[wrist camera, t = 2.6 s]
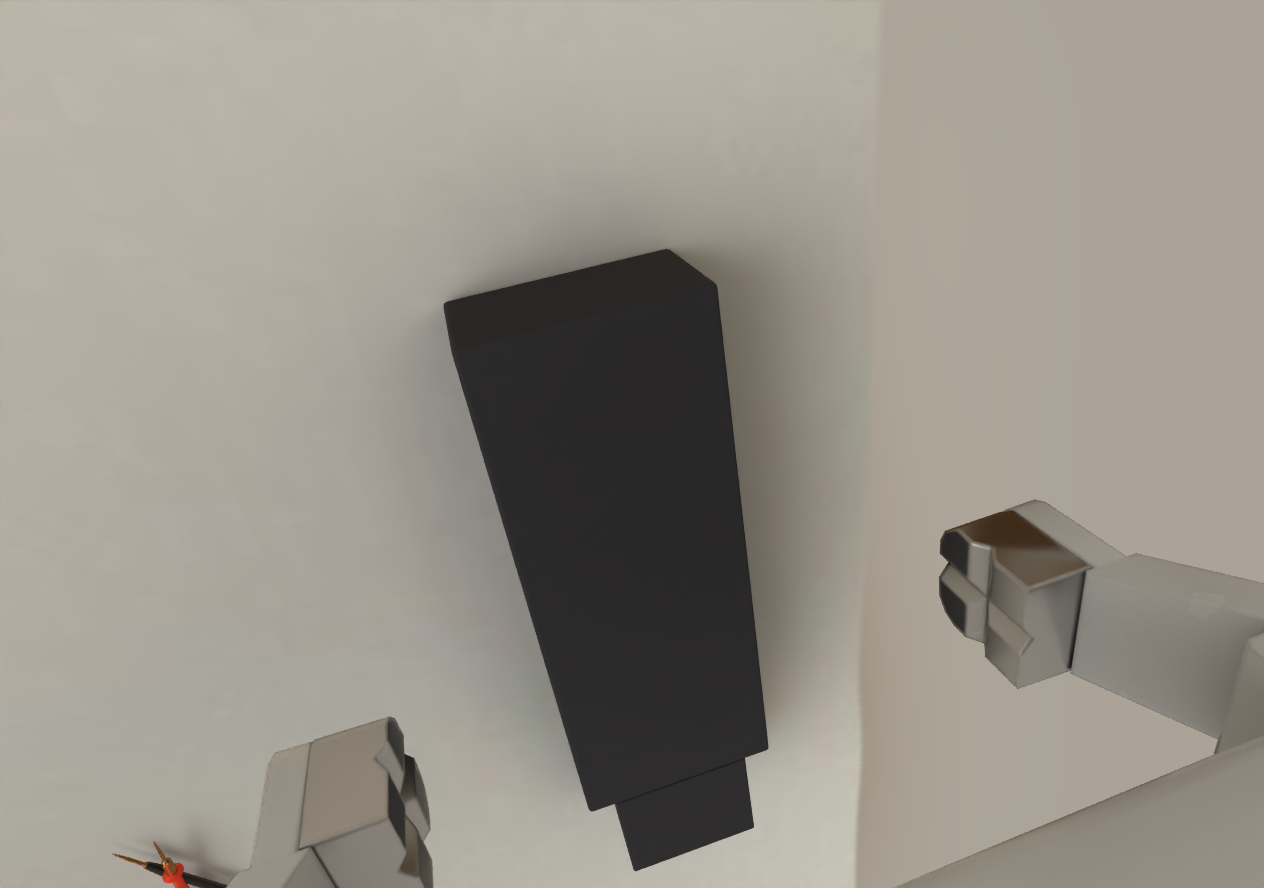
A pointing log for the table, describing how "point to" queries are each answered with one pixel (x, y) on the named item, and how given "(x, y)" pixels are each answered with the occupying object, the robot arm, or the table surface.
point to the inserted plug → (626, 533)
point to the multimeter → (174, 872)
